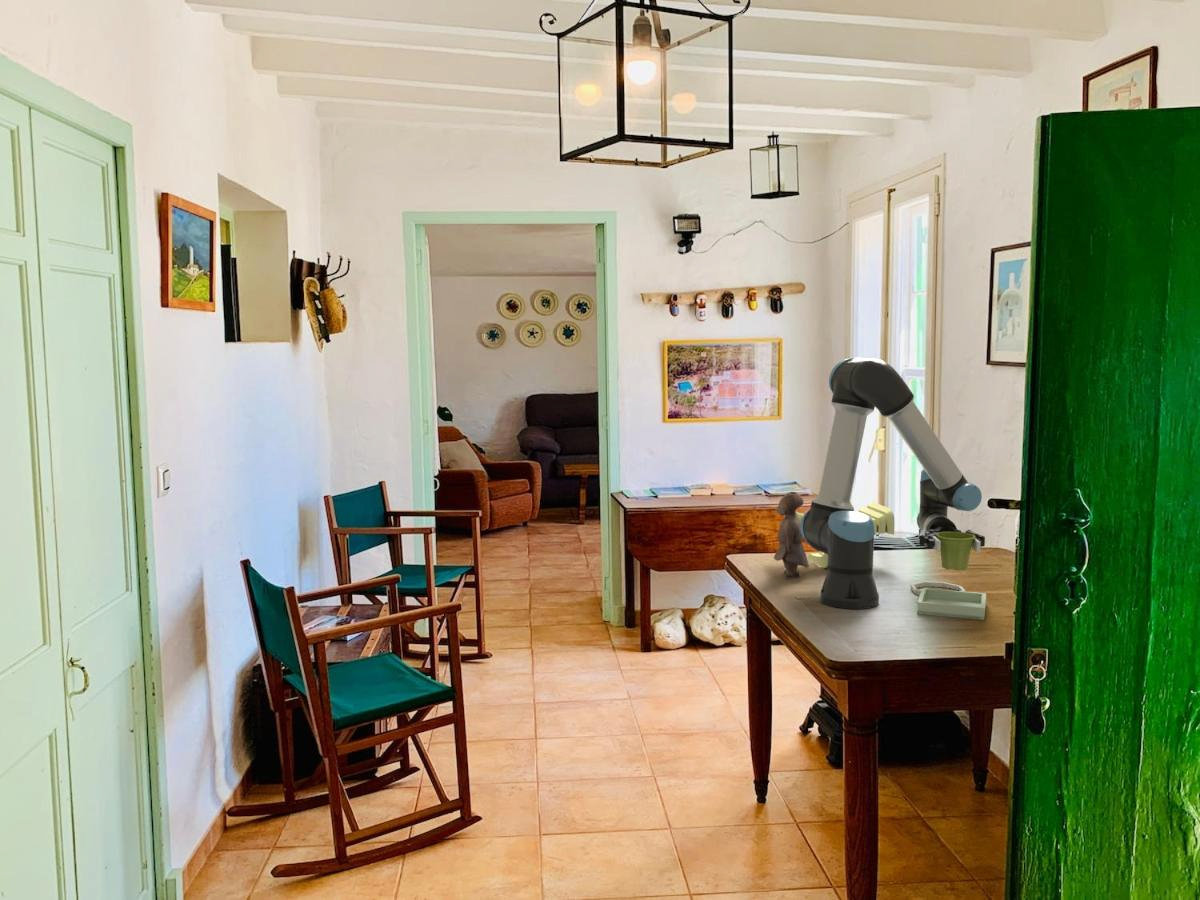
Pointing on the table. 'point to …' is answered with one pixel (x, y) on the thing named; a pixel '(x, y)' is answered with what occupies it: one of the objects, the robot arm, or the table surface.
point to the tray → (952, 603)
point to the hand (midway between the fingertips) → (958, 546)
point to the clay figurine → (790, 535)
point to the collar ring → (936, 584)
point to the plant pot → (955, 549)
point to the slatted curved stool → (882, 524)
